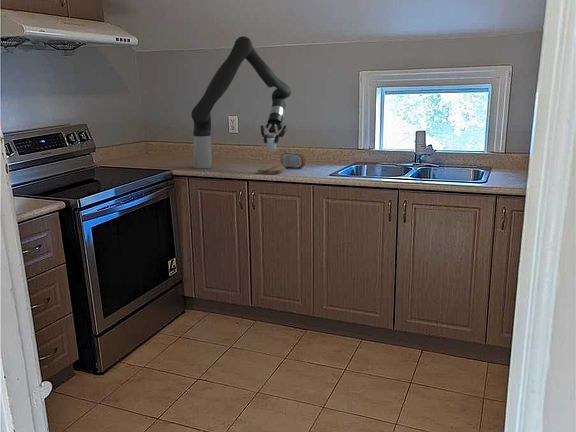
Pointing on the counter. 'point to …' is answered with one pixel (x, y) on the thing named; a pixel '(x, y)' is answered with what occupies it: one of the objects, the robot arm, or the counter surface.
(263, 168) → the walnut board
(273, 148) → the jar
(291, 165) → the tin
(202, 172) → the counter surface
